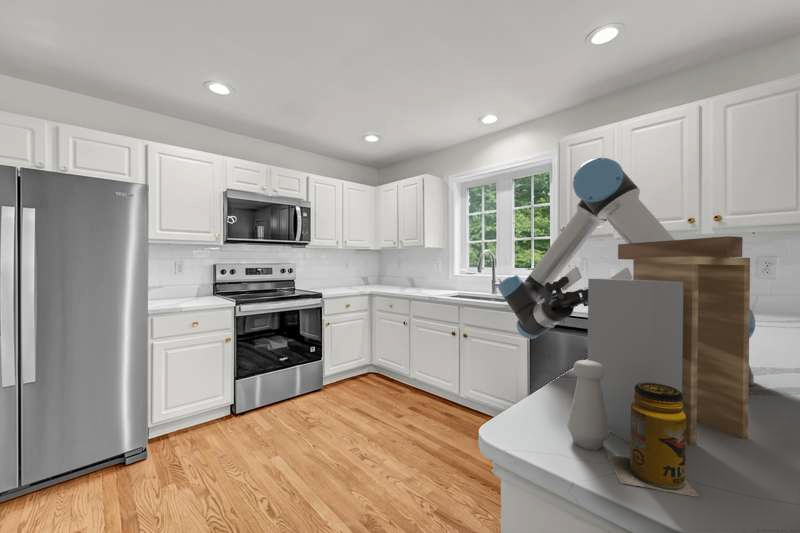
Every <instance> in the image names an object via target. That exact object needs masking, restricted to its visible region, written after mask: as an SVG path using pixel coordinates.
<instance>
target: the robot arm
mask: <svg viewBox="0 0 800 533" xmlns="http://www.w3.org/2000/svg"><path fill="white" fill-rule="evenodd" d="M572 180H573V181H572V187H573V191H574V194H575V195H576V197H578V198H579V199H580V200H579V202H578V203H577V205H576V212H575V213H574V215H573V216H572V217H571V218H570V220H569V221H568V222H567V224H566V225H565V226H564V228H563V229H562V230H561V232H560V233H559V235H557V237H556V238H555V240H554V242H552V244H551V245H550V246H549V248H548V250H547V251H546V252H545V253H544V255H543V256H542V257H541V259H540V260H539V262H538V263H536V265H535V267H534V268H533V270H532V271H531V272H530V273H529V275H528V276H527V277H526V279H525V280H524V282H523V280H522V278H520V277H519V275H518V274H512V275H511V276H508V277H506V278H504V279H503V280H502V281H501V282H500V283H499V284H498V285H497V288H498V291H499V292H500V294H501V296H502V297H503V299H504V300H505V302H506V303H507V304H508V306H509V307H510V309H511V310H512V311H513V313H514V315H515V317H516V318H517V321H516V329H517V332H518V333H519V334H520V336H522V337H524V338H525V339H530V340H532V339H536V338H538V337H540V336H541V335H543V334H544V333H546V332H547V331H549V330H550V329H554V328H555V326H556V325H557V324H560V323H562V322H563V321H564V320H566V319H567V318H569V317H570V316H571V315H572V314H573V312H574V308H576V307H578V306H579V305H583V306H584V307H588V288H587V289H582V288H580V289H577V290H575V291H567V290H568V289H569V288H570V287H572V286H573V285H574V284H576V283H577V282H578V281H580V280H581V279H582V278H583V277H582V274H581V272H580V269H579V267H578V266H575V267H572V269H571V270H570V271H569V272H567V273H566V274H565V275H564V276H562V277H561V278H559V279H558V280H557V278H558V277H559V276H560V275H561V273H562V272H563V271H564V270H565V268H566V267H567V265H568V264H569V263H570V262H571V261H572V259H573V258H574V257H575V255H577V253H578V252H579V251H580V249H582V247H583V245H584V244H585V243H586V242H587V240H588V239H589V238H590V236H592V234H593V233H594V232H595V230H596V229H597V228H598V226H599V225H600V224H604V223H606V222H608V223H609V224H610V225H611V226H612V228H613V229H614V230H615V231H616V233H617V234H618V235H619V236H620V237H621V238H622V240H623V241H624V242H625V244H629V243H643V242H656V241H670V240H676V239H675V238H674V237H673V236H672V234H671V233H670V232H669V231H668V230H667V229H666V228H665V227H664V225H663V224H662V223H661V222H660V221H659V220H658V219H657V218H656V217H655V216H654V214H653V213H652V212H651V211H650V210H649V209H648V208H647V206H646V205H645V204H644V203H643V202H642V201H641V199H640V192H641V189H640V188H639V187H638V186H637V185H636V183H634V181H633V180H632V179H631V178H630V177H629V176H628V175H627V173H625V171H624V170H623V167H622V166H621V165H620V164H619V162H617V161H616V160H614V159H611V158H609V157H595V158H593V159H590V160H588V161H586V162H585V163H583V164H582V165H581V166H580V167H578V169H577V170H576V172H575V174H574V176H573V179H572ZM609 279H632V280H633V274H632V272H631V271H630V269H629V267H625V268H623V269H622V270H620V271H619V272H617V273H616V274H615V275H612V276H611V277H610V278H609ZM564 291H565V292H564ZM580 294H581V295H580ZM755 329H756V318H755V315H754V313H753V312H752V309H750V315H749V339H750V338H751V337H752V336H753V334H754V332H755ZM754 377H755V376H754V373H753V372H752V369H751V366H750V364H749V387H752V386H754V385H755V382H754V381H755V380H754Z"/></svg>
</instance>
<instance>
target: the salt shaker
mask: <svg viewBox="0 0 800 533" xmlns="http://www.w3.org/2000/svg"><path fill="white" fill-rule="evenodd" d="M572 370H573V374H574V375H575V376H576V377H577V380H576V386H575V389H574V394H573V399H572V403H571V407H570V412H569V417H568V419H567V428H568V431H569V433H570V435H571V438H572V440H573V444H575V445H576V446H579V447H580V448H583V449H584V450H585V449H586V450H593V451H594V450H595V451H598V450H600V449H601V448H602V447H603V446H604V444H605V443H606V441H607V439H608V437H609V433H610V431H609V429H608V423H607V418H606V412H605V407H604V401H603V396H602V390H601V384H600V379H602V378H603V376H604V367H603V366H602V365H601V364H600V363H597V362H594V361H590V360H587V359H581V360H577V361H575V362H574V363H573V369H572Z"/></svg>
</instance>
